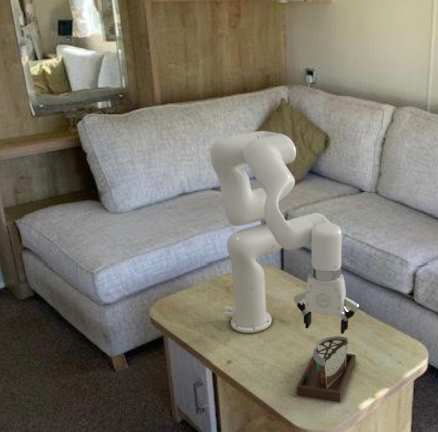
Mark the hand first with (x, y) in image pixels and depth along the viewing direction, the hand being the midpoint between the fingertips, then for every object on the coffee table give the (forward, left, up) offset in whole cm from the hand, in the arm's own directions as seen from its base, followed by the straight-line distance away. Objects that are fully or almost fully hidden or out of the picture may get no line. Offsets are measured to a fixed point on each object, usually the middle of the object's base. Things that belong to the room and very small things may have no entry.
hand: (325, 328), depth 165 cm
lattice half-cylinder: (0, 0, -15) cm, 15 cm away
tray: (0, 0, -16) cm, 16 cm away
